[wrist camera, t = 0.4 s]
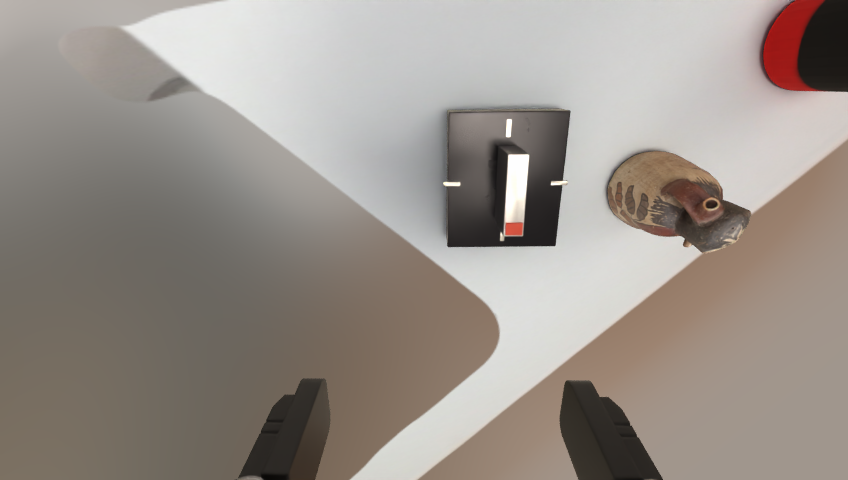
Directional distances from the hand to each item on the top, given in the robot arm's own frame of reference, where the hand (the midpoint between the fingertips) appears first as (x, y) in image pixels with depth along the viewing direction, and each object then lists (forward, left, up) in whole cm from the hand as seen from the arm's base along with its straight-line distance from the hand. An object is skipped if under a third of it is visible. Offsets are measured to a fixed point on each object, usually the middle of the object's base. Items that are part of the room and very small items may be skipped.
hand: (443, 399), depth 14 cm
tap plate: (-2, +6, -27) cm, 28 cm away
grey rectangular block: (-2, +6, -24) cm, 25 cm away
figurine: (0, +20, -27) cm, 34 cm away
